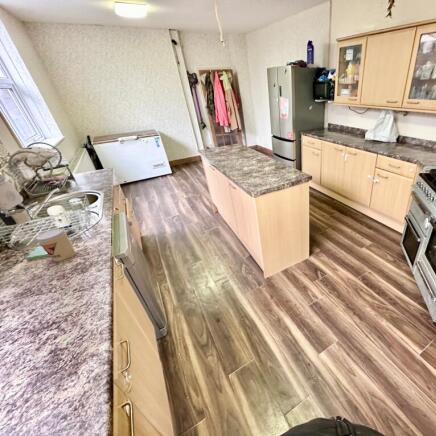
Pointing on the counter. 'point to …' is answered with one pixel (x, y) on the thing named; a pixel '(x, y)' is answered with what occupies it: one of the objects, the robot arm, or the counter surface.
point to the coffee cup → (56, 244)
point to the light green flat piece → (37, 253)
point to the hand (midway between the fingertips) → (18, 220)
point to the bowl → (19, 216)
